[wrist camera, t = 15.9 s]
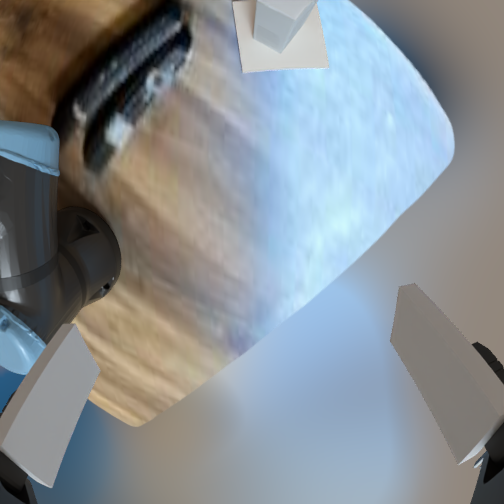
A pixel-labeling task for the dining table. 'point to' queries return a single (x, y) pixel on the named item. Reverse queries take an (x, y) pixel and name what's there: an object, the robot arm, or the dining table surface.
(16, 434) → the robot arm
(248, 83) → the dining table surface
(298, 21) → the skincare box
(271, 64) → the coaster
